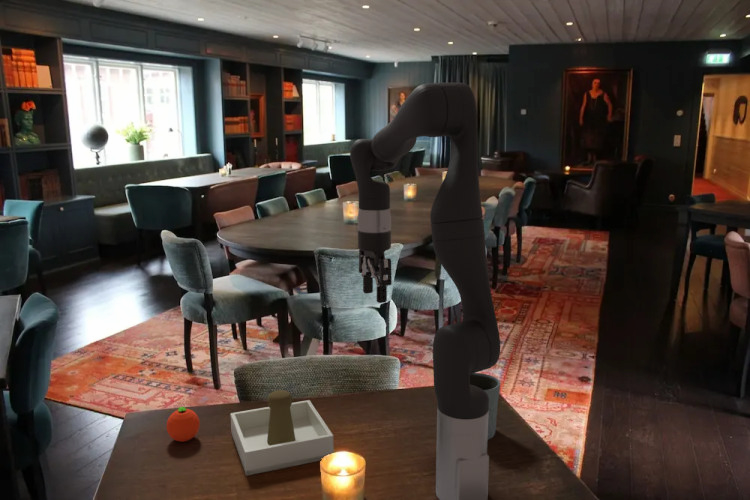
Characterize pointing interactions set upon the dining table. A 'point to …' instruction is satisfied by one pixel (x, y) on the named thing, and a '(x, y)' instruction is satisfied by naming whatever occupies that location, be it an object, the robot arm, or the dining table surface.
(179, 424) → the clementine
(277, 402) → the olive pepper mill
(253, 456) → the serving bin
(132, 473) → the dining table surface
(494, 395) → the grey round pot
